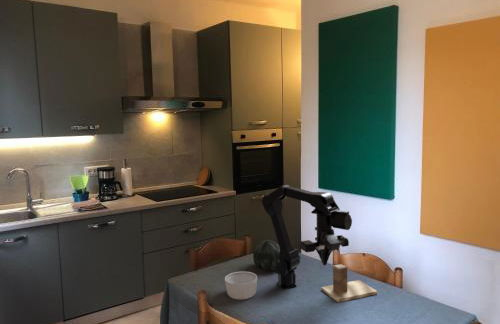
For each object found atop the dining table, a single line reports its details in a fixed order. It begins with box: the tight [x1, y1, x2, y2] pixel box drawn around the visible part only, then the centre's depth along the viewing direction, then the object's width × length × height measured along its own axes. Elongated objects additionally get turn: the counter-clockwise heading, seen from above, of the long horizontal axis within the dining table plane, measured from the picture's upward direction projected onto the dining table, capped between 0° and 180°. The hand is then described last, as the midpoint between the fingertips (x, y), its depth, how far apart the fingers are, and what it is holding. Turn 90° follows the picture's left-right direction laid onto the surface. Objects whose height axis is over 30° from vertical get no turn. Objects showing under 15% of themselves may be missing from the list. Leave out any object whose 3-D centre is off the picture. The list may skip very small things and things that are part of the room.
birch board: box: [321, 279, 378, 303], centre depth 161 cm, size 18×12×1 cm, turn 110°
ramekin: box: [224, 271, 258, 301], centre depth 162 cm, size 13×13×7 cm
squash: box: [252, 239, 280, 272], centre depth 189 cm, size 14×15×15 cm
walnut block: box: [332, 263, 348, 294], centre depth 159 cm, size 4×4×10 cm
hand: (324, 265), depth 156 cm, fingers closed
